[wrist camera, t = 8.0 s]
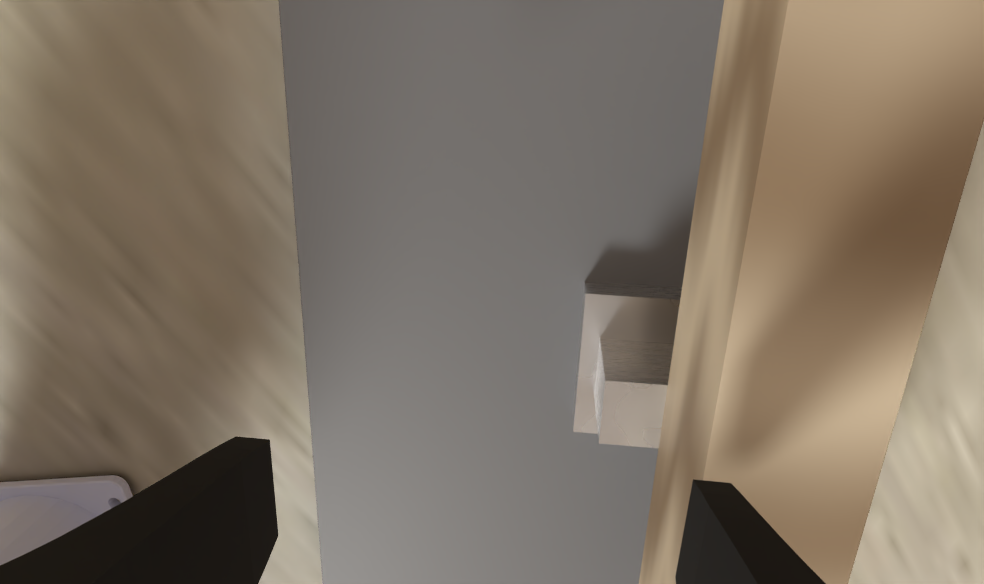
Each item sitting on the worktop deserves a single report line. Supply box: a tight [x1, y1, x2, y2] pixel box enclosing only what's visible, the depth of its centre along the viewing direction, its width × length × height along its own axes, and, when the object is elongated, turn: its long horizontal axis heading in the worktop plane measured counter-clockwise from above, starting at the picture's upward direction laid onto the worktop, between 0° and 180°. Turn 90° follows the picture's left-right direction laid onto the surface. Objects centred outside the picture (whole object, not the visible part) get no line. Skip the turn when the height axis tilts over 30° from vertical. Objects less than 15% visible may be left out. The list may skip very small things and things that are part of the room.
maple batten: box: [639, 0, 984, 584], centre depth 14 cm, size 20×3×4 cm, turn 178°
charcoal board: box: [279, 0, 724, 584], centre depth 20 cm, size 21×17×1 cm
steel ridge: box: [573, 282, 682, 448], centre depth 17 cm, size 4×7×4 cm, turn 88°
